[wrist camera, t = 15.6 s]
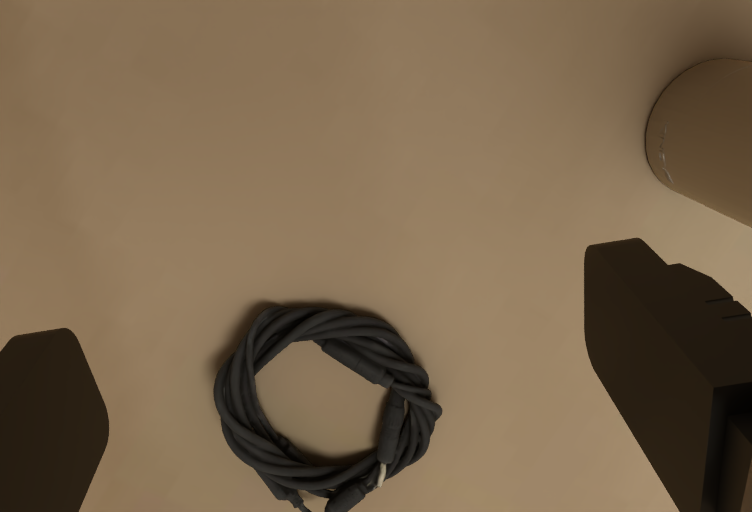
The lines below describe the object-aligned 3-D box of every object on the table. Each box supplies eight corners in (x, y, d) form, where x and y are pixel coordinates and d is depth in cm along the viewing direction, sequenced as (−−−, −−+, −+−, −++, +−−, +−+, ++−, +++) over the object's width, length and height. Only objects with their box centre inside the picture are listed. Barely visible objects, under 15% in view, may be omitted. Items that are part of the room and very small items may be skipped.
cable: (181, 340, 45) (173, 373, 41) (366, 250, 45) (376, 275, 41) (295, 510, 52) (298, 554, 48) (457, 433, 51) (474, 470, 47)
